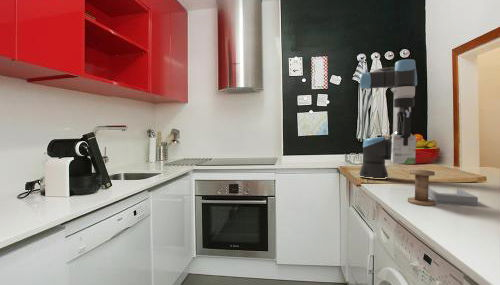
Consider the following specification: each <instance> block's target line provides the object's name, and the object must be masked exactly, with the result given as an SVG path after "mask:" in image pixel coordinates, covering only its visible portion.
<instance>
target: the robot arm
mask: <svg viewBox="0 0 500 285" xmlns="http://www.w3.org/2000/svg"><path fill="white" fill-rule="evenodd" d="M417 74H418V73H417V67H416V60H415V59H409V58H408V59H401V60H398V61H396V62H395V63H394V66H391V67H382V68H378V69H376V70H375V69H374V70H373V71H370V72H362V73H360V76H359V86H360V88H361V89H363V90H369V89H370V90H371V89H380V88H381V89H386V88H387V89H390V91H391V92H392V93H393V110H392V111H393V113H392V114H393V115H392V116H393V117H392V118H393V119H392V120H393V121H392V122H393V123H392V133H391V135H390V136H389V139H386V136H379V137H377V136H376V137H368V138H365V139H363V143H362V165H361V167H360V171H359V175H360V176H364V177H373V178H385V177H388V178H389V173H388V170H387V167H386V161H391V148H392V135H401V136H400V138H401V154H409V137H410V136H414V135H413V134H412V133H411V132H412V131H411V130H412V108H413V107H415V98H414V97H415V96H416V95H415V94H416V86H417V85H418V75H417ZM417 142H418V139H416V146H417V145H418V144H417Z"/></svg>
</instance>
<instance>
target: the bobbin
mask: <svg viewBox="0 0 500 285" xmlns="http://www.w3.org/2000/svg"><path fill="white" fill-rule="evenodd" d="M409 174H410V175H413V176H415V177H414V181H415V182H414V196H412V197H411V196H410V197H408V198H407V203H409V204H412V205H416V206H417V205H418V206H424V207H432V206H433V207H434V206H436V204H437V203H436V201H434V200H432V199H431V198H429V197H428V191H429V188H430V186H429V183H430V177H431V176H432V177H433V176H435V175H436V174H435V171H432V170H427V169H410V170H409Z"/></svg>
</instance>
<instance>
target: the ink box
mask: <svg viewBox="0 0 500 285" xmlns="http://www.w3.org/2000/svg"><path fill="white" fill-rule="evenodd" d="M391 135H392V134H391ZM400 136H401V135H392V148H391V160H390V162H391V163H392V164H406V165H415V164H416V155H417V154H416V150H417V145H416V140H417V136H416V135H413V136H410V137H409V154H401V138H400Z"/></svg>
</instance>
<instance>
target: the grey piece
mask: <svg viewBox="0 0 500 285" xmlns="http://www.w3.org/2000/svg"><path fill="white" fill-rule="evenodd" d="M428 199H432V200H434V201H436V203H435V204H444V205H445V204H448V205H465V206H478V204H479V201H478V199H479V197H478V196H476V195H475V194H471V193H469V192H468V191H465V189H464V190H463V189H460V188H457V189H456V193H449V192H448V193H443V192H437V191H436V190H434V189H432V188H430V187H429V191H428Z"/></svg>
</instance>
